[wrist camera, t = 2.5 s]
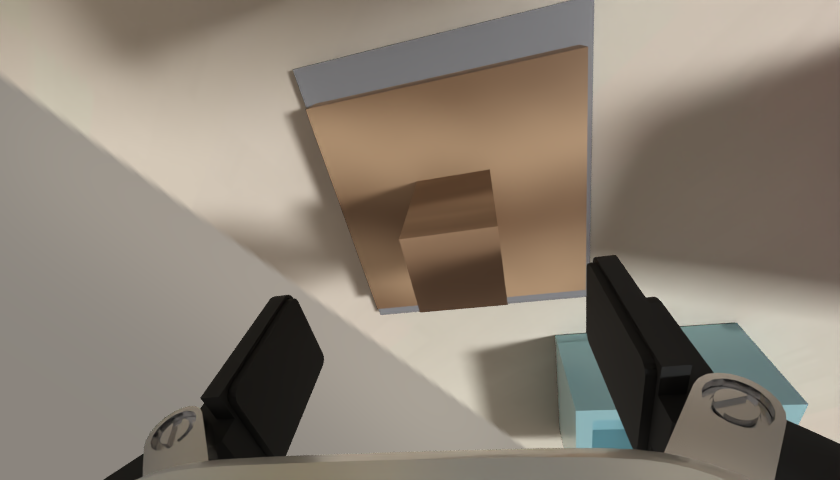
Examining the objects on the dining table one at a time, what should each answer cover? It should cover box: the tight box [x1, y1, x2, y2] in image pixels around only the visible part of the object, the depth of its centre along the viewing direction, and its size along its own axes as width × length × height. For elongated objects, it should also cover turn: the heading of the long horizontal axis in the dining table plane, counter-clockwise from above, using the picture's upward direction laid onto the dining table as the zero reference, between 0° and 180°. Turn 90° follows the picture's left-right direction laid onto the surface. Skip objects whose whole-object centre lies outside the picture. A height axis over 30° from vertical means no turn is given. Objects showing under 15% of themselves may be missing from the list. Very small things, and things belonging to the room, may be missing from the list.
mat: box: [293, 0, 594, 315], centre depth 18 cm, size 14×12×1 cm
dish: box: [555, 323, 808, 449], centre depth 21 cm, size 10×10×5 cm
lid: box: [306, 45, 588, 312], centre depth 15 cm, size 11×11×6 cm
